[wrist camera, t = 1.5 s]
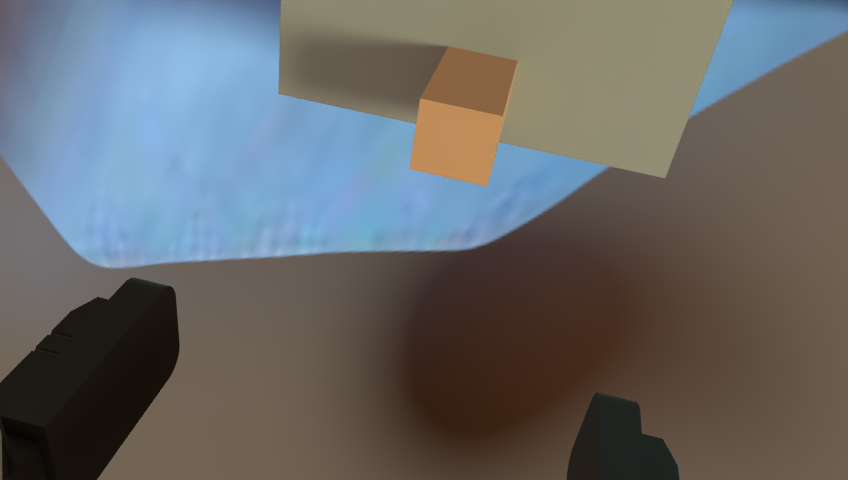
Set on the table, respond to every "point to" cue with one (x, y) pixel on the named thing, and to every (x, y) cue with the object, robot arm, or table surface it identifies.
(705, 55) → the grey box lid
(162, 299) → the robot arm
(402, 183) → the table surface
